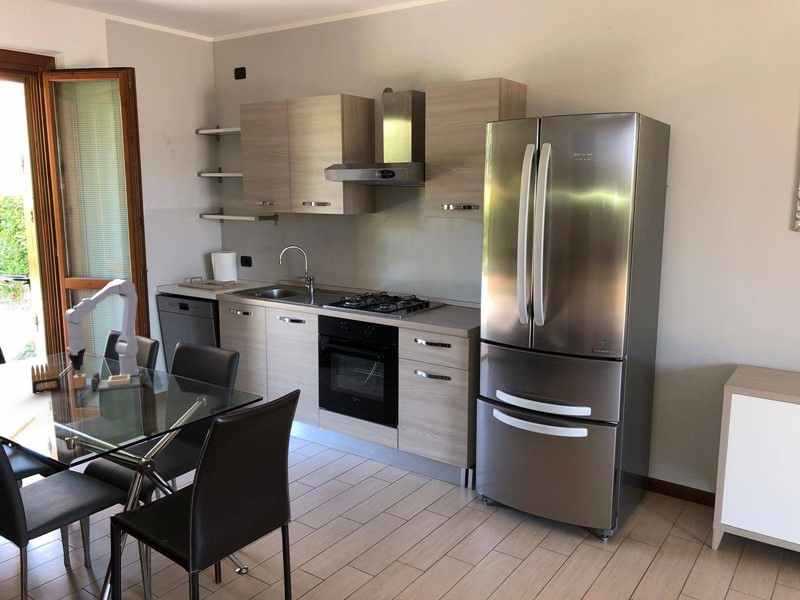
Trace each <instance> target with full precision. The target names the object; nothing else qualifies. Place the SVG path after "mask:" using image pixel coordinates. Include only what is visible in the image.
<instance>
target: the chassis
mask: <svg viewBox="0 0 800 600" xmlns="http://www.w3.org/2000/svg"><path fill="white" fill-rule="evenodd" d="M146 377H147V374H146V368H145V367H144V368H143V367H142V368H139V373H138V376H130V374H128V375H120V374H119V375H110V376H108V379H103V380H102V379H101V376H100V372H94V373H93V377H92V378H91V380H90V381H91V383H90V384H91V390H92V391H96V392H99V391H108V390H115V389H127V388H137V387H142V386H145V385H146V379H147V378H146Z"/></svg>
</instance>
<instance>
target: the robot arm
mask: <svg viewBox="0 0 800 600" xmlns="http://www.w3.org/2000/svg"><path fill="white" fill-rule="evenodd" d="M111 295H118V296H119V297H120V298H121V299H122V300H123V301H124V302H123V314H122V322H121V324H122V325H121V334H120V335H118V337H117V341H116V343H115V347H114V350H115V352H116V353H117V354H118V362H119V370H120V371H119V375H128V374H130V376H131V377H136V376H139V373H140V368H138V364H137V354H138V353H139V346H138V339H137V337H136V336H135V329H136V318H137V308H138V294H137V292H136V285H135V284H134V283H133V282H132V281H131V280H128V279H127V280H126V279H125V280H124V279H119V278H115V279H113V280H112V281H110V282H108V283H107V285H106V286H104V287H103V288H102V289H101V290H99V291H97V293H96V294H94V295H93V296H92V297H90V298H89V297H86V298H83V299H81V302H79V303H78V304H77V305H73V307H72V308H70V309H67V310H66V311H65V312H64V315H63V317H62V318H63V320H64V321H65V323H66V330H67V339H68V347H66V348H65V350H66V351H67V350H68V351H70V353H69V354H68V358H69V359H70V361H71V363H72V366H73V369H74V371H80V370H81V366H83V363H84V356H85V352H86V348H85V344H84V343H85V342H84V332H83V331H84V330H83V324H82V323H83V321H84V319H85V317H86V316H87V315H90V313H92V312H93V311H94V310H95V309H96V308H97V304H99V303H100V302H102V301H104V300H105V299H107V298H108V297H110V296H111Z"/></svg>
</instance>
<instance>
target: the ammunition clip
mask: <svg viewBox="0 0 800 600" xmlns="http://www.w3.org/2000/svg"><path fill="white" fill-rule="evenodd" d="M44 366H45V367H44ZM44 366H43V364H42V363H41V364H40V367H39V365H38V364H36V365H35V367H34V366H33V365H31V370H30V371H31V389H32V394H33V393H35V394H38V393H37V392H41V393H45V392H44V391H46V392H52V391H57V390H62V386H61V380H60V373H59V366H58V364H57V362H56V361H55V362H54V366H53V363H52V362H50V363H49V365H48V363H45V365H44ZM44 368H45V369H44ZM51 390H52V391H51Z"/></svg>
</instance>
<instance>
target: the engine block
mask: <svg viewBox="0 0 800 600" xmlns="http://www.w3.org/2000/svg"><path fill="white" fill-rule="evenodd" d="M86 375H87V374H86V373H77V374H74V375H73V377H72V378H73V388H74V389H75V390H76V389H84V388H83V387H86V388H87V386H86V385H88V383H87V376H86Z"/></svg>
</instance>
